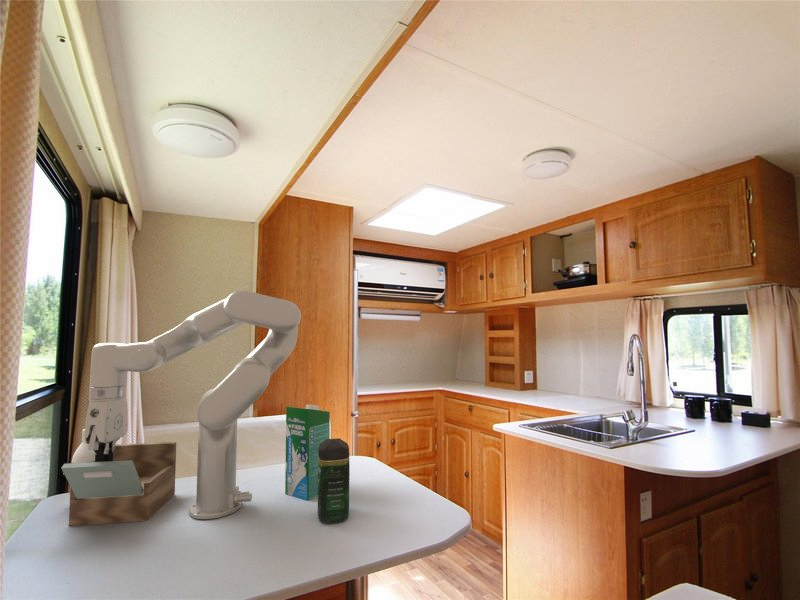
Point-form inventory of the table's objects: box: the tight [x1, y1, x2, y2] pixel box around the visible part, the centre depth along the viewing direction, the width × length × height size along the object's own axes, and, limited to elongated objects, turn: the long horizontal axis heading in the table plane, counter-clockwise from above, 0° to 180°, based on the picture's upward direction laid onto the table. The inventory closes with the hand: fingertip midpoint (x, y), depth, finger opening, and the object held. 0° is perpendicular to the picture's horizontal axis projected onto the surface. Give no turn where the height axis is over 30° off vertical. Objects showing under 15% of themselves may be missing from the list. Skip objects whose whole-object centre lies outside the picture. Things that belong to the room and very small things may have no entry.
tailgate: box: [61, 460, 144, 499], centre depth 97 cm, size 15×2×11 cm
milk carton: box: [284, 404, 331, 501], centre depth 119 cm, size 9×9×25 cm
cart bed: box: [68, 441, 177, 526], centre depth 108 cm, size 18×16×15 cm
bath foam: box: [69, 428, 95, 504], centre depth 113 cm, size 7×7×20 cm
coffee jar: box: [317, 438, 351, 524], centre depth 103 cm, size 10×8×19 cm
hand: (103, 469), depth 98 cm, fingers closed
